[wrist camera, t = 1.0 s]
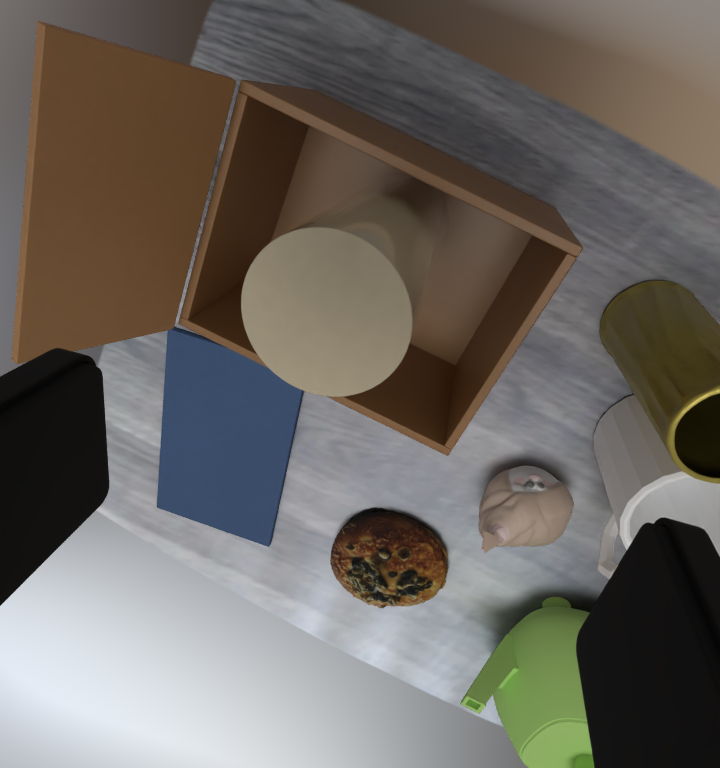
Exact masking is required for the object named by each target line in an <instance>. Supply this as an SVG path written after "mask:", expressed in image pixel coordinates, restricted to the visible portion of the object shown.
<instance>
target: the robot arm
mask: <svg viewBox="0 0 720 768" xmlns="http://www.w3.org/2000/svg"><path fill="white" fill-rule="evenodd" d="M108 490H109V472H108V456H107V440H106V424H105V408H104V392H103V376H102V372H101V370H100V369H99V368H98V367H96V364H95V362H94V360H93V359H92V358H91V357H89V356H87V355H83V354H80V353H76V352H73V351H69V350H65V349H62V348H54V349H51V350H49V351H47V352H46V353H44V354H42V355H40V356H38V357H36V358H34V359H32V360H31V361H29V362H27V363H25V364H23V365H21V366H19V367H18V368H16V369H14V370H12V371H10V372H8V373H6V374H4V375H3V376H1V377H0V605H1V604H2V603H3V602H4V601H5V600H6V599H7V598H8V597H9V596H10V595H11V594H12V593H13V592H14V591H15V590H16V589H17V588H18V587H19V586H20V585H21V584H22V583H23V582H24V581H25V580H26V579H27V578H28V577H29V576H30V575H31V574H32V573H33V572H34V571H35V570H36V569H37V568H38V567H39V566H40V565H41V564H42V563H43V562H44V561H45V560H46V559H47V558H48V557H49V556H50V555H51V554H52V553H53V552H54V551H55V550H56V549H57V548H58V547H59V546H60V545H61V544H62V543H63V542H64V541H65V540H66V539H67V538H68V537H69V536H70V535H71V534H72V533H73V532H74V531H75V530H76V529H77V528H78V527H79V526H80V525H81V524H82V523H83V522H84V521H85V520H86V519H87V518H88V517H89V516H90V515H91V514H92V513H93V512H94V511H95V510H96V509H97V508H98V507H99V506H100V505H101V504H102V503H103V501H104V500H105V498H106V496H107V493H108ZM576 655H577V661H578V668H579V674H580V680H581V686H582V693H583V699H584V705H585V711H586V718H587V724H588V730H589V736H590V743H591V749H592V755H593V762H594V768H720V556H719V554H718V552H717V551H716V549H715V547H714V545H713V543H712V541H711V539H710V537H709V535H708V534H707V532H706V531H705V530H704V529H702V528H701V527H698V526H694V525H690V524H687V523H683V522H680V521H676V520H673V519H669V518H665V517H662V518H659V519H658V520H656V521H655V522H654V524H653V523H645V524H643V525H642V527H641V528H640V529H639V531H638V533H637V534H636V536H635V538H634V539H633V541H632V543H631V544H630V546H629V548H628V549H627V551H626V553H625V554H624V556H623V558H622V559H621V561H620V563H619V565H618V566H617V568H616V570H615V571H614V573H613V575H612V576H611V578H610V580H609V581H608V583H607V585H606V586H605V588H604V590H603V591H602V593H601V595H600V596H599V598H598V600H597V601H596V603H595V605H594V606H593V608H592V610H591V611H590V613H589V615H588V617H587V618H586V620H585V622H584V623H583V625H582V627H581V628H580V630H579V633H578V636H577V641H576Z"/></svg>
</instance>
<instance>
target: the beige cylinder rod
mask: <svg viewBox="0 0 720 768" xmlns="http://www.w3.org/2000/svg"><path fill="white" fill-rule="evenodd" d="M448 231H449V213H448V208H447V205H446V203H445V201H444V199H443V197H442V195H441V194H440V192H439V191H438V190H437V189H436V188H435V187H433V186H431V185H429V184H427V183H424V182H422V181H420V180H418V179H416V178H414V177H412V176H410V175H408V174H406V173H395V174H390V175H387V176H384V177H382V178H380V179H378V180H377V181H375V182H373V183H371V184H370V185H368V186H366V187H364V188H363V189H361V190H359V191H357V192H356V193H354V194H352V195H351V196H349V197H347V198H345V199H344V200H342V201H340V202H338V203H337V204H335V205H333V206H331V207H330V208H328V209H326V210H325V211H323V212H321V213H319V214H318V215H316V216H314V217H312V218H311V219H309V220H307V221H305V222H304V223H302V224H300V225H298V226H297V227H295V228H293V229H292V230H290V231H288V232H286V233H285V234H283V235H281V236H279V237H278V238H276V239H275V240H273V241H271V242H270V243H269V244H268V245H267V246H265V247H264V248H263V249H262V250H261V251H260V253H259V254H258V255H257V256H256V257H255V259H254V261H253V262H252V264H251V265H250V267H249V269H248V272H247V274H246V276H245V280H244V283H243V288H242V295H241V311H242V319H243V323H244V327H245V330H246V333H247V336H248V338H249V340H250V342H251V344H252V346H253V348H254V350H255V351H256V353H257V354H258V356H259V357H260V359H261V360H262V361H263V362H264V363H265V365H266V366H267V367H268V368H269V369H270V370H271V371H272V372H273V373H275V374H276V375H277V376H278V377H280V378H281V379H282V380H284V381H285V382H287V383H289V384H290V385H292V386H294V387H296V388H298V389H301V390H303V391H306V392H309V393H312V394H317V395H321V396H330V397H341V396H349V395H355V394H358V393H362V392H365V391H367V390H369V389H372V388H374V387H375V386H377V385H379V384H380V383H382V382H383V381H384V380H385V379H387V378H388V377H389V376H390V375H391V374H392V373H393V372H394V371H395V370H396V369H397V367H398V366H399V364H400V363H401V361H402V360H403V358H404V356H405V354H406V352H407V349H408V347H409V344H410V341H411V338H412V335H413V332H414V330H415V327H416V324H417V321H418V318H419V315H420V313H421V310H422V307H423V304H424V301H425V298H426V296H427V293H428V290H429V287H430V284H431V281H432V279H433V276H434V273H435V270H436V267H437V265H438V262H439V259H440V256H441V253H442V250H443V248H444V245H445V242H446V239H447V236H448Z"/></svg>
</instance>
